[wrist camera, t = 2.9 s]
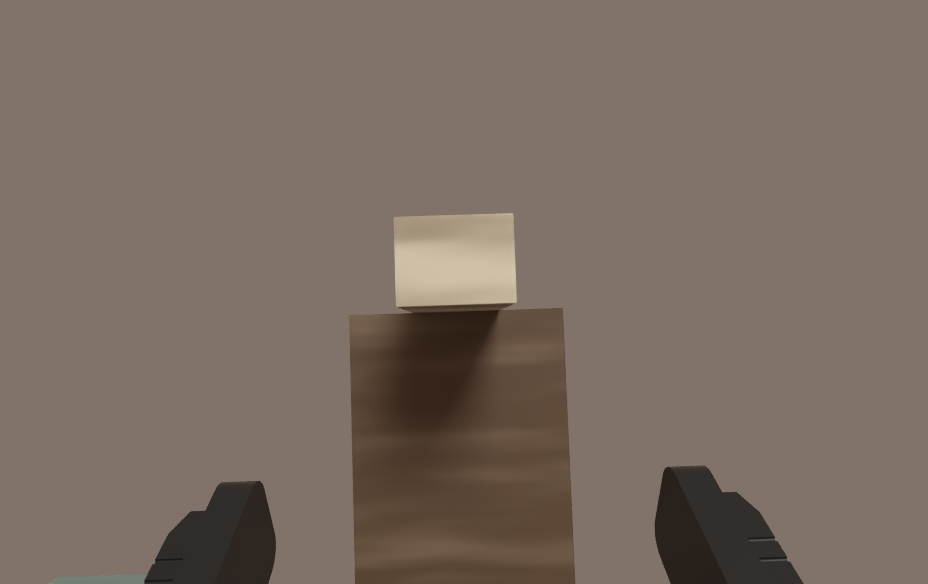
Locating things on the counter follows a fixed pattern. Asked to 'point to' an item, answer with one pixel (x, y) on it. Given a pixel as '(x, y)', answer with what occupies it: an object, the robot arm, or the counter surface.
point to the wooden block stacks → (456, 450)
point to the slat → (455, 263)
